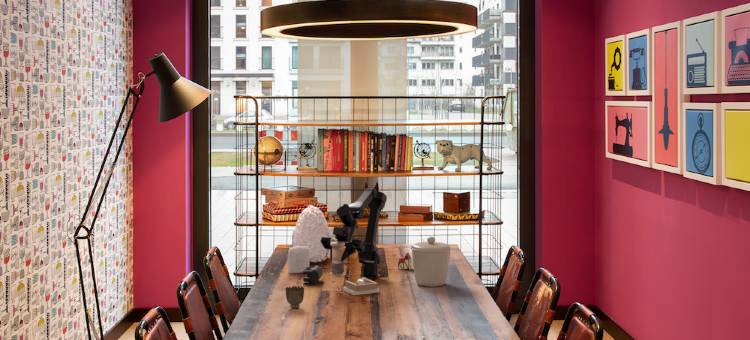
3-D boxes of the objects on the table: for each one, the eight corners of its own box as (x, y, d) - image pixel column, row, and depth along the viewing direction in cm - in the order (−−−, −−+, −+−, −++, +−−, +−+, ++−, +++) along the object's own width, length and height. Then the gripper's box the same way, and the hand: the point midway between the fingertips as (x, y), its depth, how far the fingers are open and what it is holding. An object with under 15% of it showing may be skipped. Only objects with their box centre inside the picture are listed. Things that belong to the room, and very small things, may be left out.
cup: (285, 305, 339) (285, 285, 339) (304, 305, 340) (304, 285, 339) (285, 310, 332) (285, 289, 331) (304, 310, 333) (304, 289, 332)
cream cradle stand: (368, 287, 372) (368, 278, 372) (379, 292, 363) (379, 282, 363) (343, 290, 367) (343, 281, 366) (354, 295, 358) (354, 285, 357)
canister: (424, 278, 391) (424, 232, 390) (459, 283, 381) (459, 236, 379) (401, 285, 377) (402, 237, 375) (437, 291, 366) (438, 241, 365)
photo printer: (307, 270, 408) (307, 244, 407) (310, 272, 404) (310, 246, 403) (286, 272, 403) (286, 246, 402) (290, 274, 399) (289, 247, 398)
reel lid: (359, 281, 384) (359, 276, 384) (372, 283, 382) (372, 277, 382) (355, 283, 378) (355, 278, 378) (368, 285, 377) (369, 279, 377)
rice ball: (295, 255, 447) (295, 201, 445) (332, 255, 447) (332, 201, 445) (289, 265, 419) (289, 208, 417) (328, 266, 419) (328, 208, 417)
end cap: (319, 285, 377) (319, 270, 376) (302, 284, 377) (302, 269, 377) (323, 280, 387) (323, 265, 386) (307, 280, 387) (307, 265, 387)
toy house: (412, 270, 411) (412, 253, 410) (398, 271, 410) (398, 254, 410) (411, 268, 416) (411, 251, 416) (397, 268, 416) (397, 251, 415)
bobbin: (340, 272, 369) (340, 240, 367) (347, 276, 363) (348, 243, 362) (327, 274, 366) (327, 242, 364) (334, 277, 360) (334, 245, 359)
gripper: (322, 217, 370) (310, 247, 361) (362, 220, 362) (350, 251, 353) (330, 233, 378) (319, 262, 369) (369, 236, 370) (358, 266, 361)
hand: (336, 260), depth 363 cm, fingers closed on bobbin, 5 cm apart
